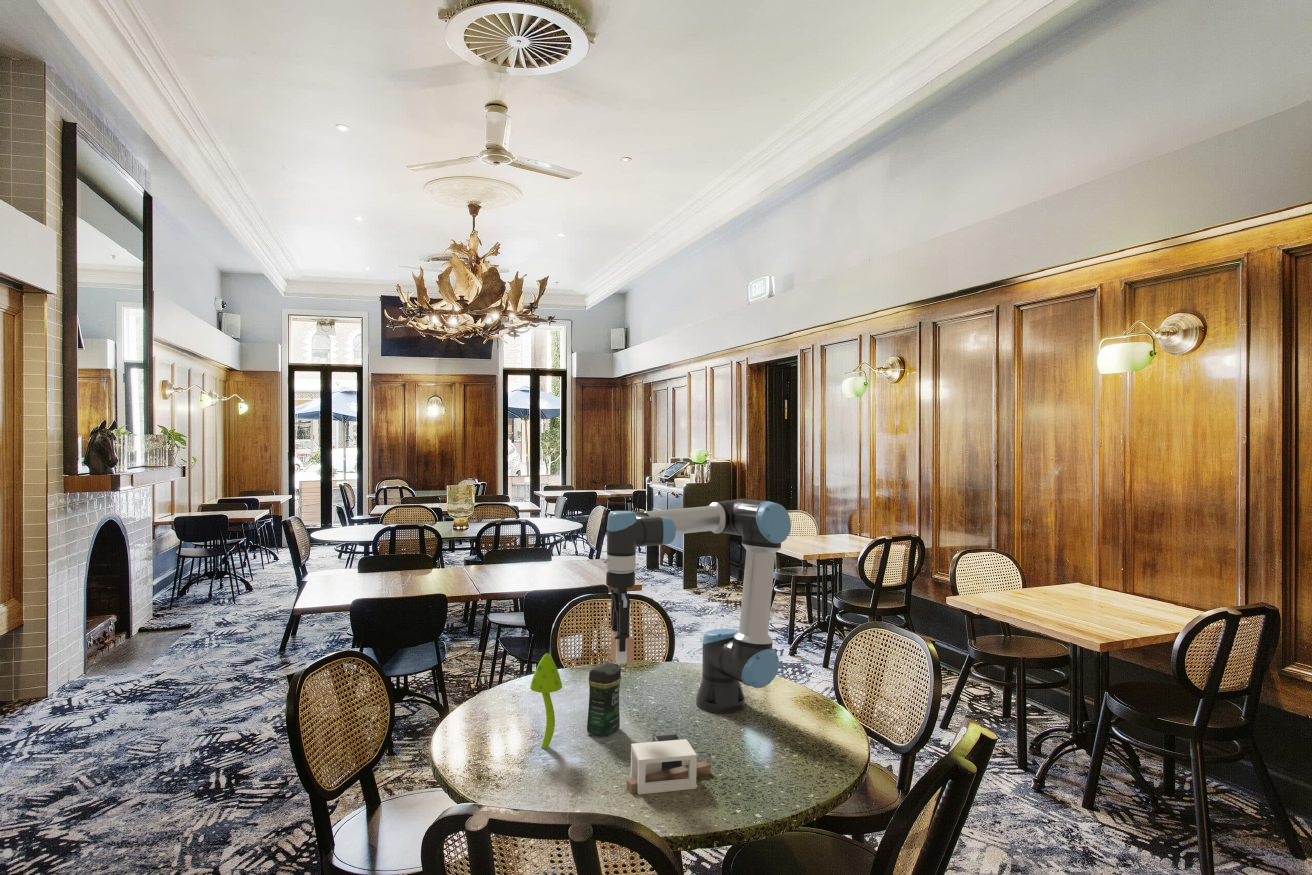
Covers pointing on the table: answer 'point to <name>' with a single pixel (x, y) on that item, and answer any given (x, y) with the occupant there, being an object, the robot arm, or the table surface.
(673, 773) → the rod
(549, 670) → the mushroom
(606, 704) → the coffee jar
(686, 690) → the table surface
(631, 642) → the block
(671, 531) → the robot arm
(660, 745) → the tunnel
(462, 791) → the table surface
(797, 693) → the table surface
